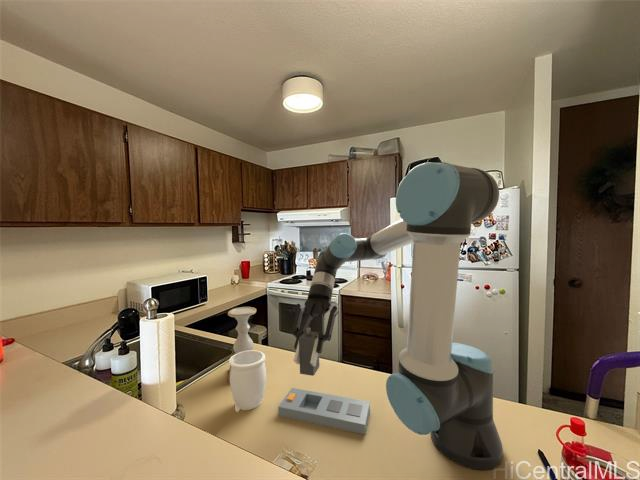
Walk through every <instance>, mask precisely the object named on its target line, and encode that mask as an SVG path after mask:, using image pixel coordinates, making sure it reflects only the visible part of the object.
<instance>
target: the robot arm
mask: <svg viewBox="0 0 640 480" xmlns="http://www.w3.org/2000/svg"><path fill="white" fill-rule="evenodd" d="M499 198H500V189H499V185H498V183H497V181H496V179H495V178H494V177H493V176H492V175H491V174H490V173H489V172H487V171H485V170H483V169H481V168H475V167H468V166H467V167H466V166H463V165H457V164H452V163H449V162H424V163H420V164H418V165H416V166H414V167H413V168H412V169H410V170H408V173H407V175H406V176H404V177H403V178H402V180H401V181H400V183H399V185H398V187H397V191H396V195H395V209H396V212H397V213H398V214H399V217H400V219H399V220H398V221H395V222H394V223H392V224H390V225H388V226H387V227H385V228H383V229H381V230H379V231H377V232H375V233H373V234H372V235H370V236H368V237H364V238H355V237H354V236H353V235H351V234H348V233H346V232H341V233H338V234H337V235H336V236H335V238H333V239H332V240H331V241H330V244H329V245H328V246H327V247H325V248H322V249H320V251H319V253H318V256H317V258H316V264H315V268H314V272H313V276H312V279H311V283H310V286H309V291H308V293H307V299H306V301H304V303H302V304H300V303H296V306H295V307H296V313H295V316H294V320H293V325H292V328H291V329H292V330H291V335H292V336H293V337H294V338H295V342H294V345H293V348H294V350H295V352H294V357H293V362H294V363H295V364H296V365H300V358H299V337H300V336H301V335H302V334H303V333H304V332H305V331H307V330H306V328H308V327H309V326H310V325H311V321H312V320H314V317H317V319H318V325H317V327H318V329H317V332H318V338H319V339H316V338H315V342H314V347H313V352H312V356H311V361H310V363H311V365H312V366H314V367H315V366H316V361H317V356H318V353H319V354H322V352H323V346H324V343H325V342H326V341H328V342H329V341H331V340H332V335H333V330H334V325H335V321H336V316H337V315H338V314H339V309H338V306H337V305H333V304H331V302H332V296H333V291H334V288H335V281H336V276H337V272H338V270H339V269H340V268H341V267H342V266H343V265H344V264H345V263H347V262H359V261H368V260H378V259H383V258H384V257H386V256H387V254H389V253H391V252H393V251H395V250H398V249H401V248H403V247H405V246H408V245H411V244H412V243H413V245H412V246H413V247H412V258H411V274H410V292H409V293H410V294H409V306H408V307H409V308H408V322H407V323H408V325H407V326H408V327H407V341H406V347H405V348H404V349H402V350H401V351H400V352H399V354H398V366H397V367H398V368H397V371H396V372H392V373H391V374H390V375H389V376H388V377H387V378H386V383H385V390H386V395H387V399H388V403H389V404H390V406H391V408H392V410H393V412H394V414H395V415H396V417H397V418H398V419H399V421H400V422H401V423H402V424H403V425H404V427H406V428H408V429H409V431H412V432H413V433H414V434H417V435H420V436H422V435H424V436H425V435H426V436H427V435H429V434H430V438H431V440H432V442H433V444H434V446H435V447H436V448H437V449H438V450H439V452H441V454H443V455H444V456H445V457H446V458H448V459H449V460H451V461H452V462H454V463H456V464H458V465H460V466H462V467H465V468H468V469H470V470H471V469H472V470H477V471H488V470H489V471H490V470H494V469H495V468H497V467H498V466H500V465H501V463H502V461H503V455H504V454H503V449H504V448H503V444H502V439H501V437H500V434H499V431H498V429H497V427H496V424H495V421H494V414H493V413H494V369H493V361H492V358H491V357H490V356H489V355H488V354H487V353H486V352H485V351H483V350H481V349H479V348H476V347H475V346H471V345H468V344H463V343H460V342H453V337H454V335H453V334H454V325H455V315H456V314H455V312H456V302H457V300H456V299H457V290H458V278H459V265H460V263H459V262H460V254H461V252H460V251H461V244H462V243H463V242H464V241H465V240H466V239H468V238H469V237H471V229H472V225H473V224H475V223H477V222H478V223H479V222H481V221H484V219H486V218H488V216H490V215H491V214H492V212H494V210H495V209H496V208H497V206H498V202H499V200H500V199H499ZM305 309H306V312H305ZM328 311H329V316H328V320H327V323H326V329H325V315H326V314H327V313H328ZM304 312H305V316H304V318H303V315H304ZM302 318H303V320H302Z"/></svg>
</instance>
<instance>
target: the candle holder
mask: <svg viewBox="0 0 640 480" xmlns="http://www.w3.org/2000/svg"><path fill="white" fill-rule="evenodd" d="M256 313H257V308H255V307H252V306H241V307H240V306H239V307H235V308H232V309H230V310H228V312H227V316H229V317H231V318H234V319H235V320H236V321H237V325H236V327H235V330H236V332H237V333H238V335H237V337H236V340H235V341H234V344H233V349H232V350H233V351H234V353H235V354H237V353H239V352H242V351H247V350H254V347H255V346H254V345H255V344H254V341H253V339H252V338H251V337H250V335H249V334H248V332H249V330H250V328H251V325H250V324H249V323H248V321H249V319H250V317H251V316H252V315H255V314H256ZM230 371H231V366H230V365H229V369H228V376H227V384H228V385H230Z"/></svg>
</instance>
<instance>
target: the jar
mask: <svg viewBox="0 0 640 480" xmlns="http://www.w3.org/2000/svg"><path fill="white" fill-rule="evenodd" d="M265 361H266V354H265V352H264V351H260V350H256V349H252V350H247V351H242V352H239V353H235V354H234V355H232V356H230V358H229V361H228V363H229V367H230V366H231V371H230V384H229V386H230V390H231V396H232V399H233V401H234V403H235V405H234V411H235V413H238V412H239V411H241V410H243V411H248V410H252V409H255V408H257V407H259V406H260V405H261V403H262V401H263V398H264V395H265V392H266V391H265V390H266V382H267V369H266V363H265Z"/></svg>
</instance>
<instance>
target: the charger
mask: <svg viewBox="0 0 640 480" xmlns="http://www.w3.org/2000/svg"><path fill="white" fill-rule="evenodd" d="M306 330H307V331H305V332H304V333H303V334H302V335H301V336H300V337H299V358H300V363H299V375H300V374H301V375H305V376H312V377H313V376H315V375H316V373H317V371H318V370H319V368H320V353H318V356H317V361H316V366H315V367H314V366H312V365H311V363H310V361H311V356H312V352H313V347H314V342H315V338H316V339H319V338H318V331H317V332H316V331H312V330H311V327H309V326H308V328H306Z"/></svg>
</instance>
